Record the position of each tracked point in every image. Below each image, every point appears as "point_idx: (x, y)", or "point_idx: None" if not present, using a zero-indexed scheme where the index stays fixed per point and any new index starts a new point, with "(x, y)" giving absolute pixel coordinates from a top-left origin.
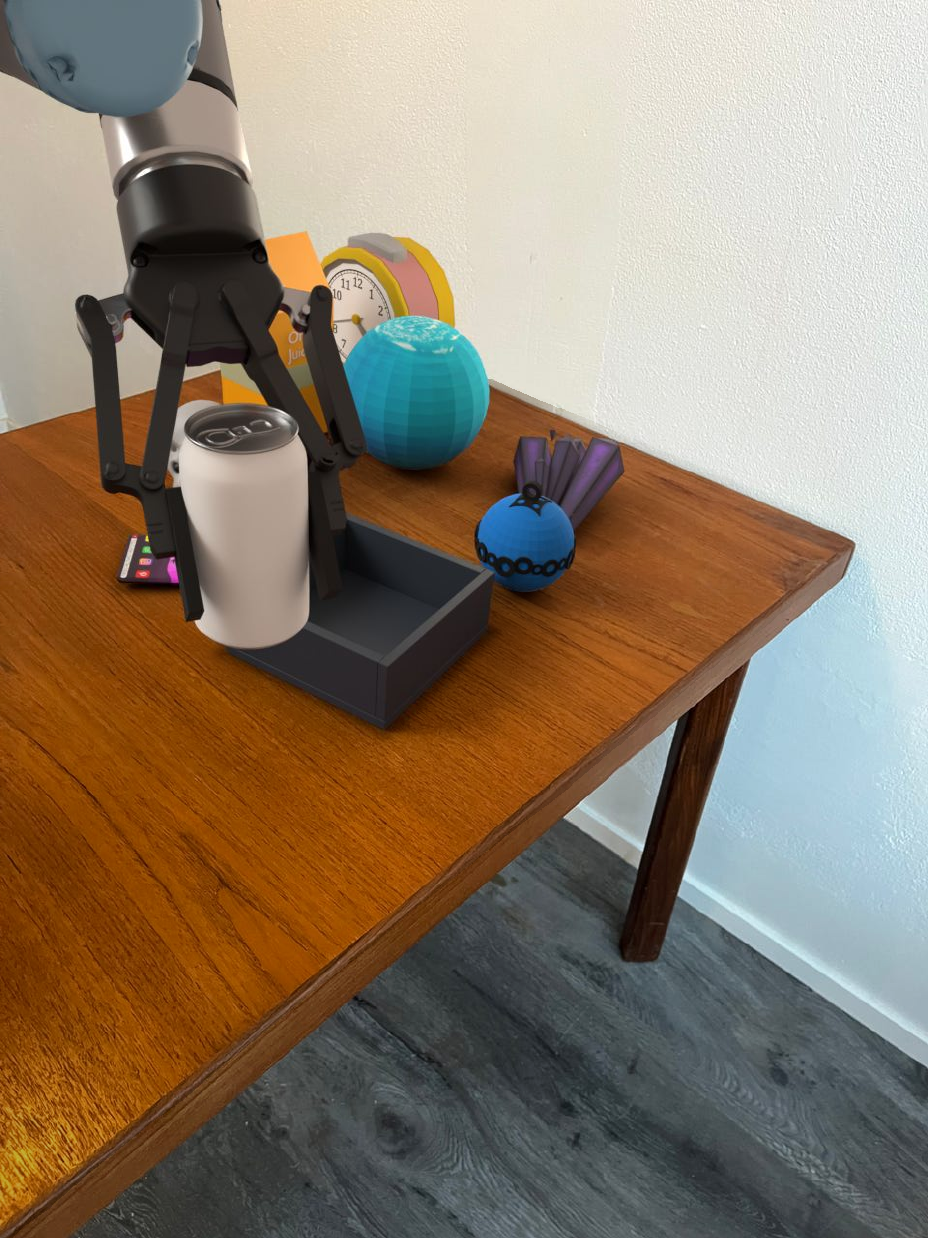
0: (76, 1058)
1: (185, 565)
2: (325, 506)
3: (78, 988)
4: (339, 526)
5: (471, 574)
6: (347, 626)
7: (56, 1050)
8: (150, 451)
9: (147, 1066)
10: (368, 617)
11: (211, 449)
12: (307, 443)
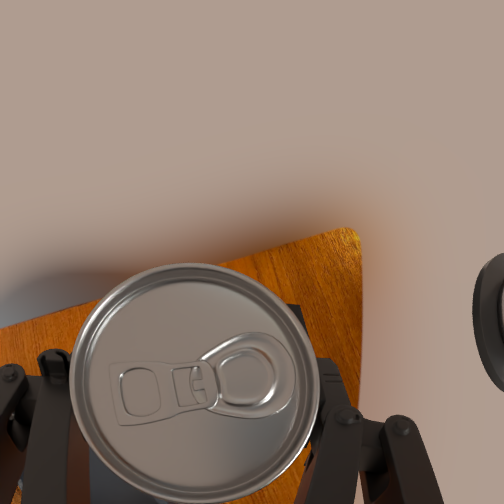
0: (339, 264)
1: None
2: None
3: (336, 295)
4: None
5: None
6: (107, 494)
7: (346, 270)
8: (351, 451)
9: (313, 249)
10: (90, 494)
11: (284, 303)
12: (68, 405)
